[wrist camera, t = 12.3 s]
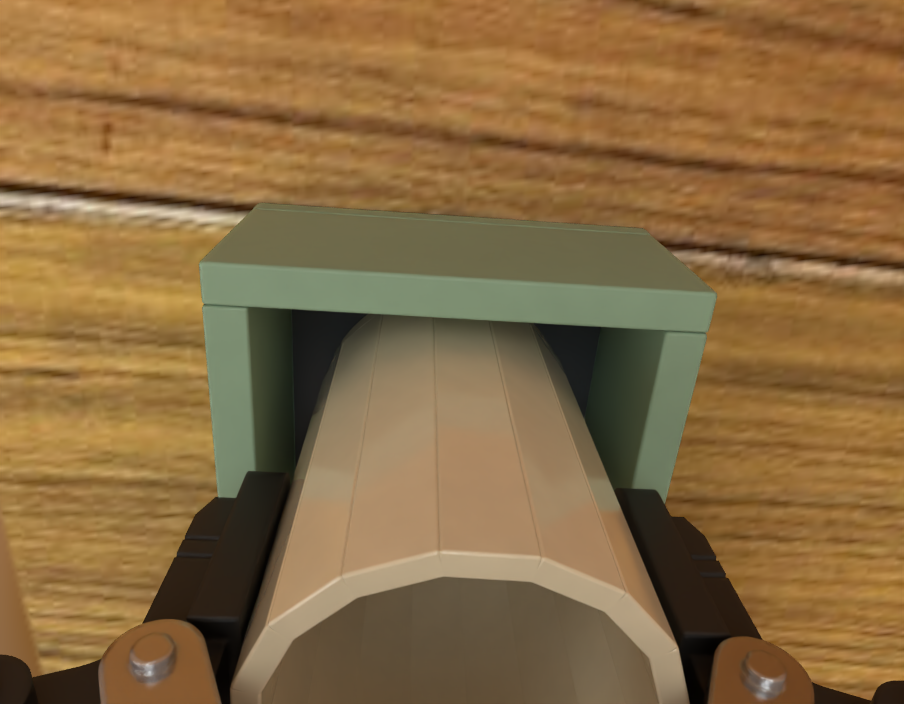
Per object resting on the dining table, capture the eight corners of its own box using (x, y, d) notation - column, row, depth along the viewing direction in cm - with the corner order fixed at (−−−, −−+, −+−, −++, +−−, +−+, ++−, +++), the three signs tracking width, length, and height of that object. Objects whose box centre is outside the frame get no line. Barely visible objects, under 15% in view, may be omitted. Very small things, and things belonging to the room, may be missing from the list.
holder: (258, 201, 16) (197, 261, 12) (644, 227, 16) (720, 292, 12) (280, 717, 23) (248, 868, 19) (547, 723, 24) (573, 870, 19)
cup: (286, 444, 18) (164, 799, 9) (391, 244, 15) (351, 477, 7) (487, 529, 19) (534, 903, 11) (609, 356, 17) (783, 658, 9)
